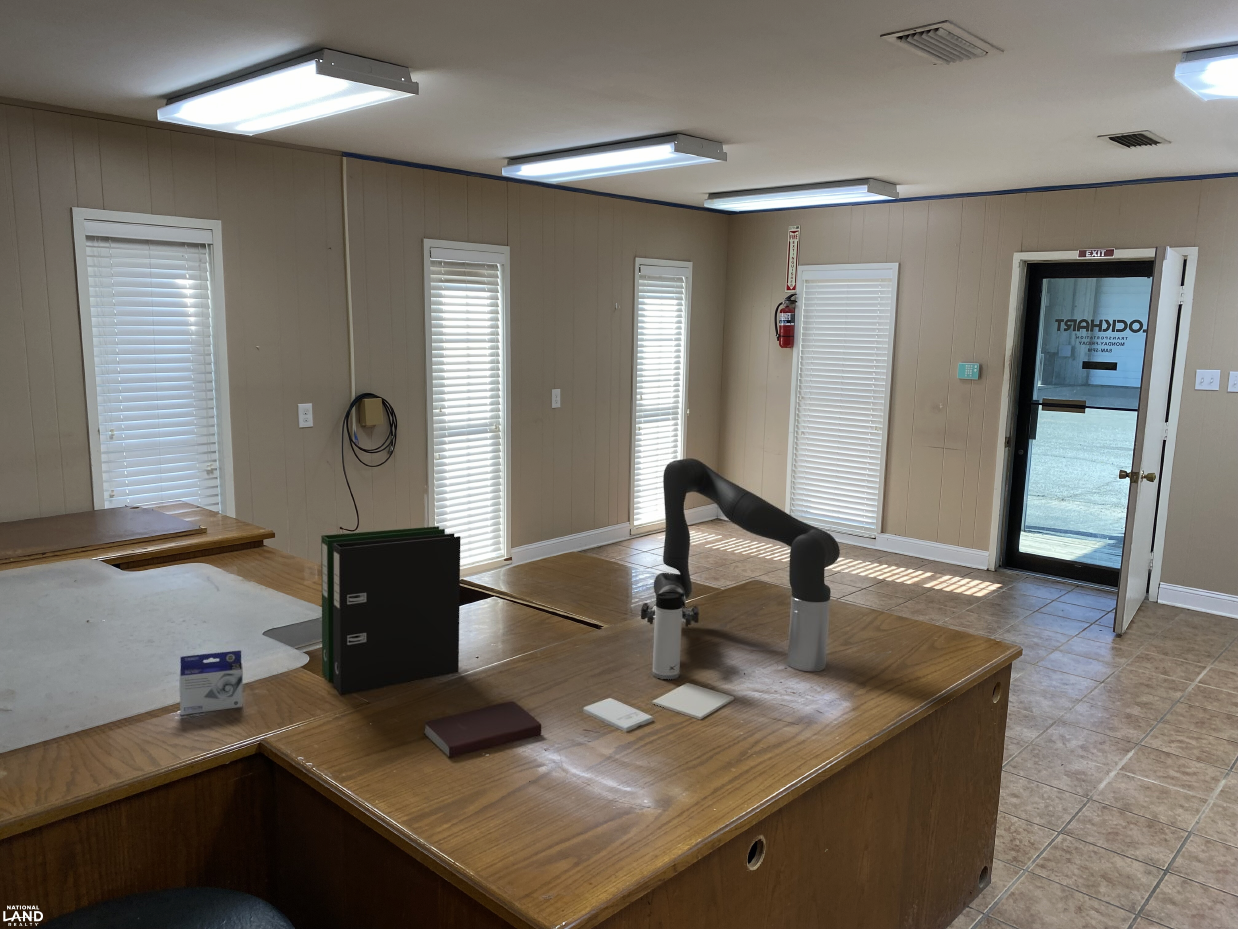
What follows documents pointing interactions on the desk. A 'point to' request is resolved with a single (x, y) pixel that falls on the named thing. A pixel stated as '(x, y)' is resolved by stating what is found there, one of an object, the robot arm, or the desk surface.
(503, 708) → the book
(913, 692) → the desk surface
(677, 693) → the white square pad
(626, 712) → the external hard drive
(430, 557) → the ring binders
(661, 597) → the travel mug
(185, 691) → the ink box
